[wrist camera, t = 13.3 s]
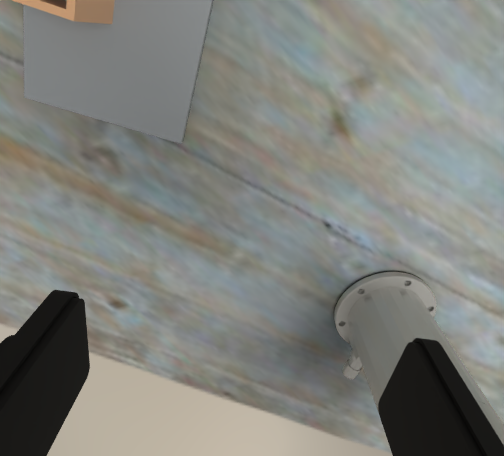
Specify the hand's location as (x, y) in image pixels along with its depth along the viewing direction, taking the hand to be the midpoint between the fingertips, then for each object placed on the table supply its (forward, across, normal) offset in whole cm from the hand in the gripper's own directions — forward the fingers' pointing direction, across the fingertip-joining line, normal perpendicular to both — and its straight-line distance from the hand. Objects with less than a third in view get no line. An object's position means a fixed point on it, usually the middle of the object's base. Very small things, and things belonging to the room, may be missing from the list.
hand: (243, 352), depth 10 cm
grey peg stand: (+26, +12, -8) cm, 30 cm away
